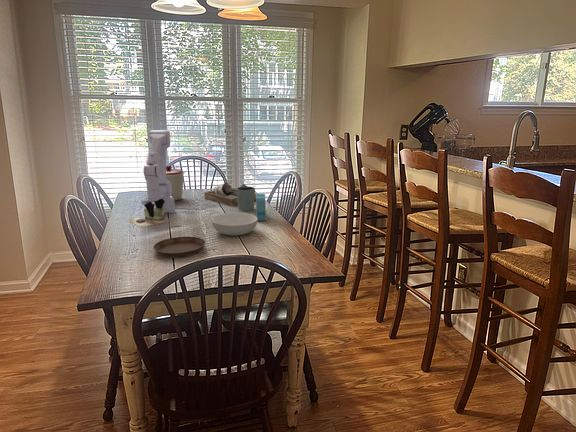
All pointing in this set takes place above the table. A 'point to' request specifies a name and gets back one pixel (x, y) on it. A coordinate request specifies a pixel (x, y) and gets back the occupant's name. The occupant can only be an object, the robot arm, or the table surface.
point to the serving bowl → (234, 223)
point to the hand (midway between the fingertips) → (155, 215)
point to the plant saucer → (179, 246)
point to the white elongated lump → (225, 190)
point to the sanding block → (155, 214)
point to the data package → (260, 207)
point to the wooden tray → (223, 198)
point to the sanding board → (147, 221)
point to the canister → (175, 181)
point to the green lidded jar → (246, 198)
